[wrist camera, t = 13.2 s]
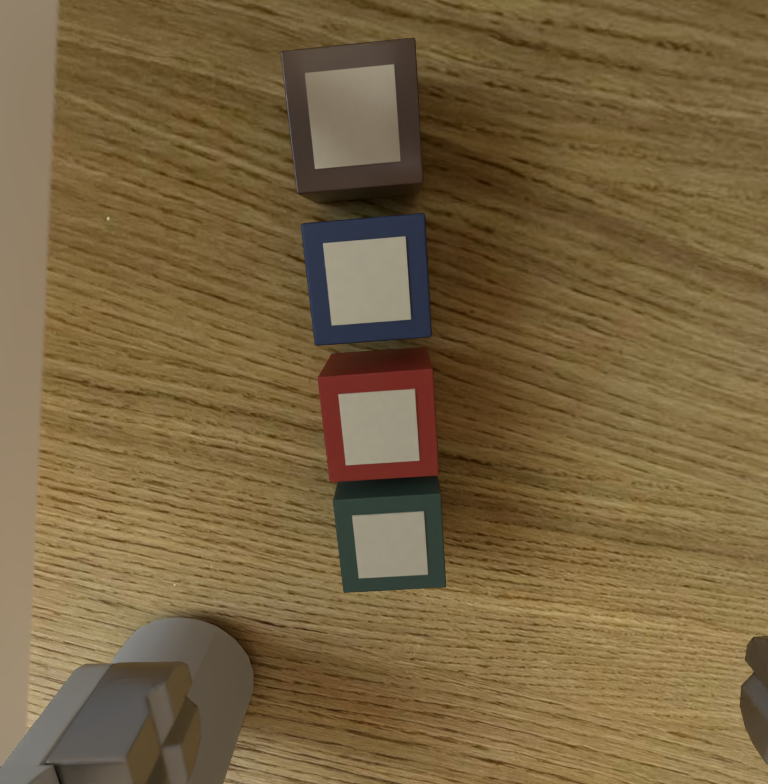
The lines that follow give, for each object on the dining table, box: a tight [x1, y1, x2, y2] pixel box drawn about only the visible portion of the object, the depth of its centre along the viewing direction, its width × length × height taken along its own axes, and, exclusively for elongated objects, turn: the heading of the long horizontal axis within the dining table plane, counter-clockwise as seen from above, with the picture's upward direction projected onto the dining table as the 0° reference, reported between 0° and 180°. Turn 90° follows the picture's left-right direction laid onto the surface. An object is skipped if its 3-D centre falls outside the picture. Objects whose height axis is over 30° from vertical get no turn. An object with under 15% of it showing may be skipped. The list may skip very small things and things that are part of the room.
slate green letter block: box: [333, 476, 446, 593], centre depth 25 cm, size 4×4×5 cm
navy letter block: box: [301, 213, 432, 346], centre depth 22 cm, size 4×4×5 cm
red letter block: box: [318, 347, 439, 482], centre depth 23 cm, size 4×4×5 cm
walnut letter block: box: [281, 38, 423, 203], centre depth 20 cm, size 4×4×5 cm
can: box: [111, 617, 254, 784], centre depth 24 cm, size 8×8×12 cm
